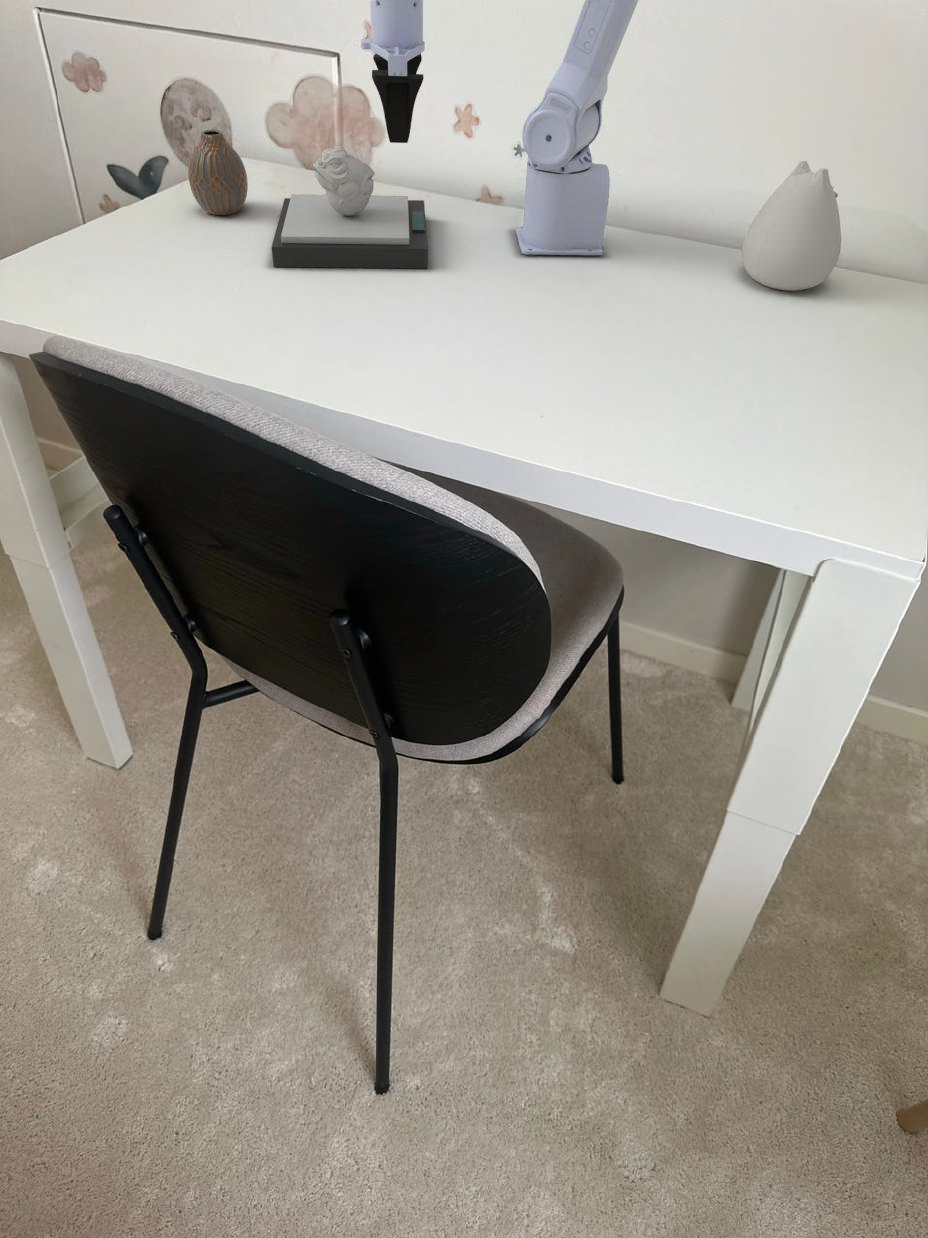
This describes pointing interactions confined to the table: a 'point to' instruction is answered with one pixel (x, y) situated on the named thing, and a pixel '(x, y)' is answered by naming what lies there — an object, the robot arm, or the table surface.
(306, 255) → the scale
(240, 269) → the table surface
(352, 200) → the frog figurine
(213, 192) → the vase
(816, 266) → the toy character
